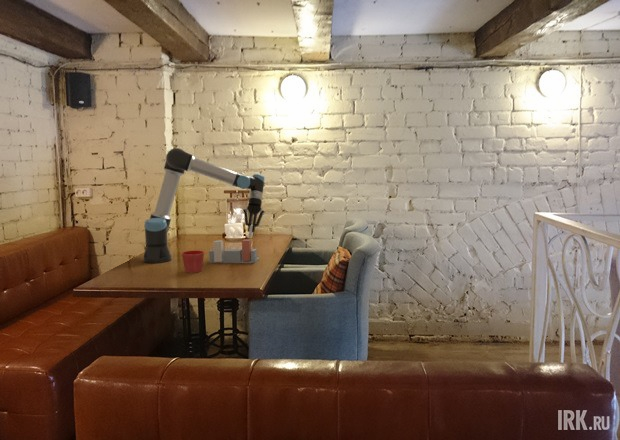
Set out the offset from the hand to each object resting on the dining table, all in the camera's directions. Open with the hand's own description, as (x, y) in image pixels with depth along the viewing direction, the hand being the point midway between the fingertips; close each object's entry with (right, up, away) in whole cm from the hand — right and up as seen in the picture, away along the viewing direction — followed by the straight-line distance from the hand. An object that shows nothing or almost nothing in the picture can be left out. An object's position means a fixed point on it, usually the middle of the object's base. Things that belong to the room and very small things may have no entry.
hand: (250, 237), depth 295 cm
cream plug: (-15, -13, -20) cm, 28 cm away
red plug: (+1, -13, -19) cm, 23 cm away
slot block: (-7, -13, -16) cm, 21 cm away
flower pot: (-23, -16, -41) cm, 50 cm away
